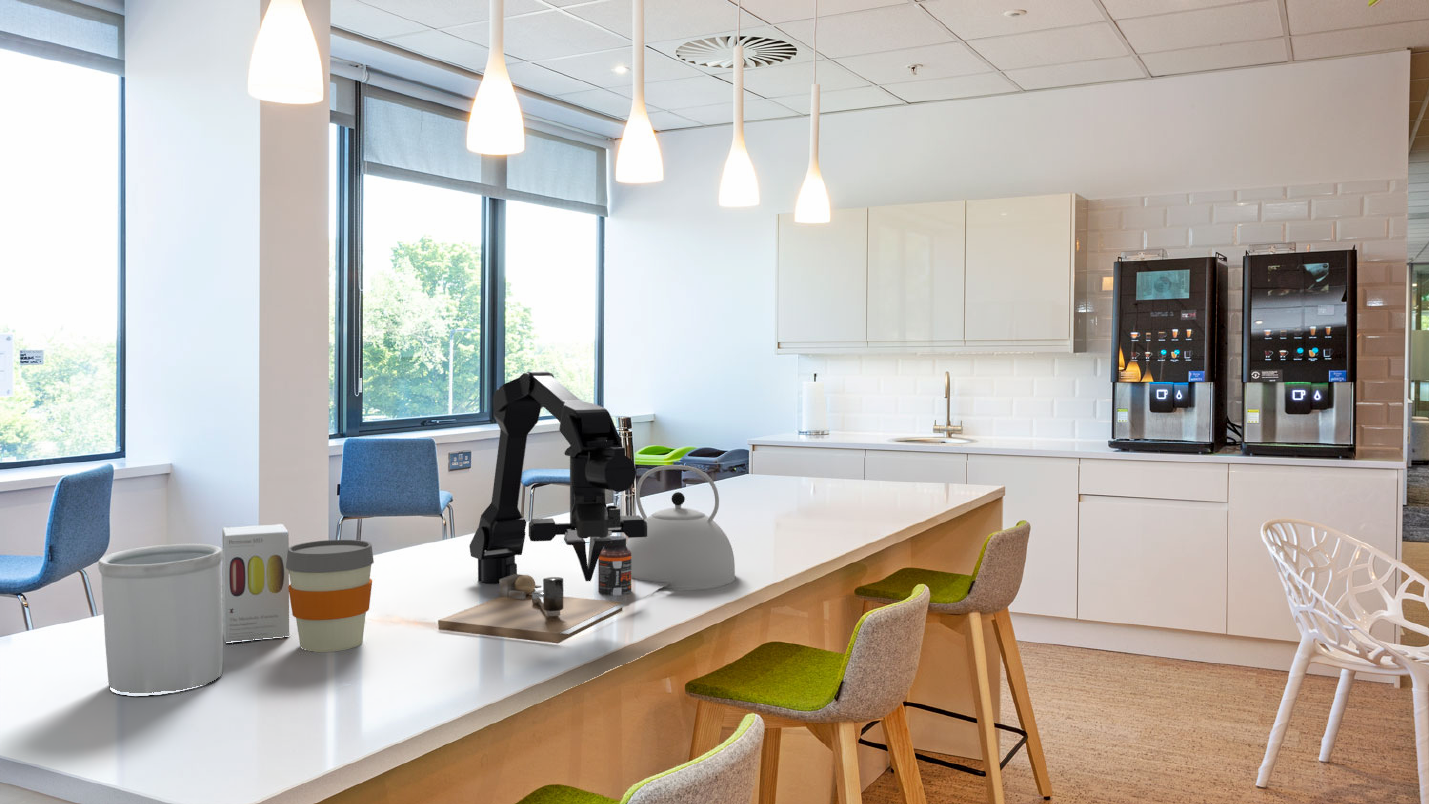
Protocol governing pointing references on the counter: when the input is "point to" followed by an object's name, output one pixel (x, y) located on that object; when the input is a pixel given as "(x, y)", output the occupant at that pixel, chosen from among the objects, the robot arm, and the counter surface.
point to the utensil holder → (162, 617)
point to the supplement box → (255, 582)
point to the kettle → (682, 545)
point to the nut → (525, 584)
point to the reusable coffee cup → (330, 592)
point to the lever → (549, 596)
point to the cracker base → (525, 616)
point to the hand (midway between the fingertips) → (588, 580)
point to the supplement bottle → (615, 568)
